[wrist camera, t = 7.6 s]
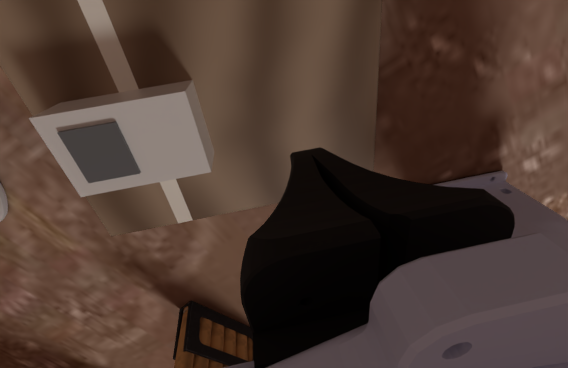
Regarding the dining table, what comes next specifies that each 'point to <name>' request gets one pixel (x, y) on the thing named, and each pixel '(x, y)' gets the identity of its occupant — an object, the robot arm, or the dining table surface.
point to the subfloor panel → (209, 86)
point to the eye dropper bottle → (3, 203)
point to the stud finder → (128, 138)
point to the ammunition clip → (210, 339)
